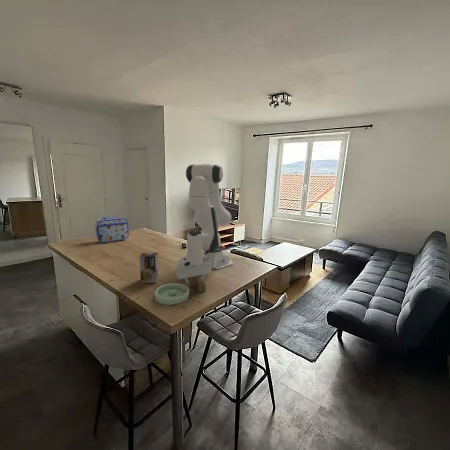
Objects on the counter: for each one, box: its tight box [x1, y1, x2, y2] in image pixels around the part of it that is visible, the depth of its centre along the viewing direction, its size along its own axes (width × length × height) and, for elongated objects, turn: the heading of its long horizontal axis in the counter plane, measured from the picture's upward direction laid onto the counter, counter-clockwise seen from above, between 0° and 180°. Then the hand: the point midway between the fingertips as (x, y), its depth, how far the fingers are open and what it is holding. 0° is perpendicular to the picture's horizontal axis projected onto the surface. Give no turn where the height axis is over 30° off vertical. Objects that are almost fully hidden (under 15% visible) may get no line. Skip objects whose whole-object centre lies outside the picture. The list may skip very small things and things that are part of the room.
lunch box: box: [94, 216, 130, 244], centre depth 216 cm, size 28×10×22 cm, turn 130°
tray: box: [154, 282, 191, 306], centre depth 124 cm, size 17×17×3 cm
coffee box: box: [139, 252, 160, 284], centre depth 140 cm, size 9×6×16 cm
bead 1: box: [190, 276, 200, 289], centre depth 136 cm, size 4×4×5 cm
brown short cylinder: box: [197, 280, 207, 293], centre depth 131 cm, size 4×4×5 cm
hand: (194, 282), depth 136 cm, fingers open, 7 cm apart
